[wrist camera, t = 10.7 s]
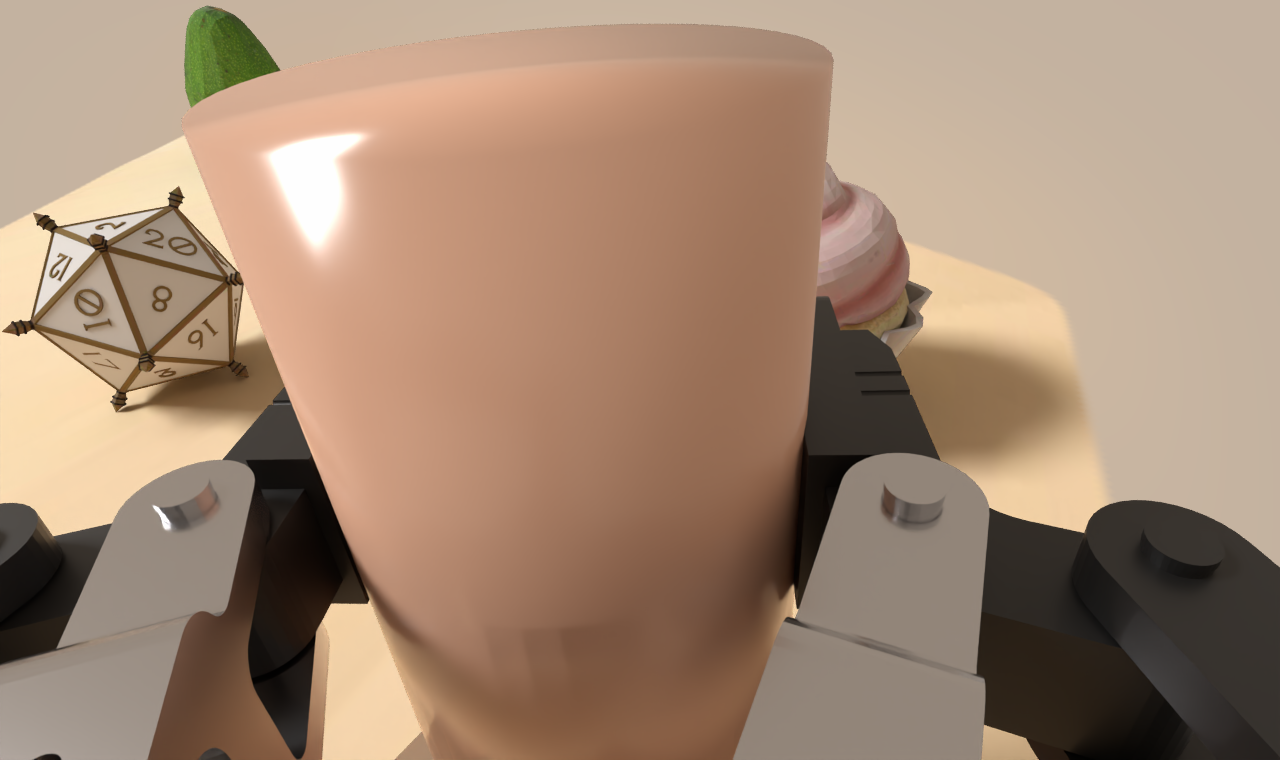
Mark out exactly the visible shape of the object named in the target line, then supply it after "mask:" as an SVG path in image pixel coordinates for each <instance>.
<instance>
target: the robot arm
mask: <svg viewBox="0 0 1280 760" xmlns="http://www.w3.org/2000/svg"><path fill="white" fill-rule="evenodd" d="M793 585H794V592H795V599H796V606H797V609H799V610H798V613H797V615H796V617H795V619H794V618H791V617H786V618H785V620H784V621H783V623H782V625H781V627H780V629H779V631H778V633H777V636H776V639H775V641H774V644H773V647H772V650H771V652H770V655H769V658H768V661H767V664H766V667H765V669H764V672H763V675H762V678H761V681H760V684H759V686H758V689H757V692H756V695H755V698H754V701H753V704H752V706H751V709H750V712H749V715H748V718H747V721H746V723H745V726H744V729H743V732H742V735H741V738H740V740H739V743H738V746H737V749H736V752H735V755H734V758H733V760H981V757H982V743H983V728H984V725H987V726H990V727H993V728H996V729H999V730H1002V731H1006V732H1009V733H1012V734H1015V735H1018V736H1021V737H1024V738H1026V739H1027V741H1028V743H1029V745H1030V746H1031V748H1032V750H1033V751H1034V753H1035V754H1036V756H1037V757H1038V759H1039V760H1280V567H1278V566H1277V565H1276V564H1274V563H1273V562H1272V561H1271V560H1270V559H1269V558H1268V557H1266V556H1265V555H1264V554H1263V553H1262V552H1260V551H1259V550H1258V549H1257V548H1256V547H1254V546H1253V545H1252V544H1251V543H1250V542H1248V541H1247V540H1245V539H1244V538H1243V537H1242V536H1240V535H1239V534H1238V533H1236V532H1235V531H1233V530H1232V529H1230V528H1228V527H1227V526H1225V525H1223V524H1222V523H1220V522H1217V521H1215V520H1214V519H1212V518H1209V517H1207V516H1205V515H1203V514H1200V513H1197V512H1195V511H1192V510H1189V509H1186V508H1183V507H1179V506H1176V505H1171V504H1167V503H1162V502H1155V501H1146V500H1131V501H1122V502H1117V503H1113V504H1109V505H1107V506H1105V507H1103V508H1101V509H1099V510H1098V511H1097V512H1095V513H1094V514H1093V516H1092V517H1091V518H1090V520H1089V522H1088V524H1087V527H1086V530H1085V532H1084V533H1081V532H1076V531H1072V530H1067V529H1063V528H1058V527H1053V526H1049V525H1044V524H1040V523H1035V522H1030V521H1026V520H1022V519H1018V518H1015V517H1011V516H1008V515H1006V514H1003V513H1000V512H997V511H995V510H993V509H991V508H989V505H988V502H987V499H986V497H985V495H984V493H983V492H982V490H981V489H980V487H979V486H978V485H977V484H976V483H975V482H974V481H973V480H972V479H971V478H970V477H968V476H967V475H966V474H965V473H963V472H961V471H960V470H958V469H957V468H955V467H953V466H951V465H949V464H947V463H945V462H942V461H940V458H939V456H938V454H937V451H936V449H935V447H934V444H933V442H932V440H931V438H930V435H929V433H928V431H927V428H926V426H925V424H924V422H923V419H922V417H921V415H920V412H919V410H918V408H917V405H916V403H915V401H914V399H913V396H912V395H910V389H909V387H908V385H907V383H906V380H905V378H904V376H902V375H901V369H900V367H899V364H898V362H897V360H896V357H895V355H894V353H893V350H892V348H890V347H889V346H888V345H887V344H885V343H884V342H883V341H882V340H880V339H879V338H878V337H877V336H875V335H874V334H873V333H871V332H870V331H869V330H868V329H867V330H840V328H839V325H838V322H837V319H836V316H835V313H834V310H833V307H832V304H831V301H830V298H829V297H828V296H816V305H815V318H814V332H813V346H812V359H811V373H810V386H809V400H808V413H807V420H806V425H805V430H804V441H803V455H802V469H801V483H800V497H799V511H798V525H797V539H796V553H795V567H794V581H793ZM368 601H369V597H368V594H367V592H366V589H365V587H364V584H363V582H362V579H361V577H360V574H359V572H358V569H357V567H356V564H355V562H354V559H353V557H352V554H351V551H350V549H349V546H348V544H347V541H346V539H345V536H344V534H343V531H342V529H341V526H340V524H339V521H338V519H337V516H336V514H335V511H334V509H333V506H332V504H331V501H330V499H329V496H328V494H327V491H326V489H325V486H324V484H323V481H322V479H321V476H320V474H319V471H318V469H317V466H316V463H315V461H314V458H313V456H312V453H311V451H310V448H309V446H308V443H307V441H306V438H305V436H304V433H303V431H302V428H301V426H300V423H299V421H298V418H297V416H296V413H295V411H294V408H293V406H292V403H291V401H290V398H289V396H288V393H287V391H286V388H285V387H284V388H283V389H282V390H281V392H280V393H279V394H278V395H277V396H276V397H275V399H274V400H273V405H269V406H268V407H267V408H266V409H265V410H264V412H263V413H262V414H261V415H260V416H259V417H258V419H257V420H256V421H255V422H254V423H253V424H252V426H251V427H250V428H249V429H248V430H247V431H246V433H245V434H244V435H243V436H242V437H241V439H240V440H239V441H238V442H237V443H236V444H235V446H234V447H233V448H232V449H231V450H230V451H229V453H228V454H227V455H226V456H225V457H224V458H223V460H213V461H206V462H200V463H196V464H192V465H188V466H185V467H182V468H179V469H177V470H174V471H172V472H170V473H167V474H165V475H163V476H161V477H159V478H157V479H155V480H154V481H152V482H150V483H149V484H147V485H146V486H144V487H143V488H141V489H140V490H139V491H137V492H136V493H135V494H134V495H133V496H131V497H130V498H129V499H128V500H127V501H126V502H125V503H124V505H123V506H122V507H121V508H120V510H119V511H118V513H117V515H116V517H115V519H114V521H113V523H112V524H107V525H103V526H98V527H94V528H89V529H85V530H80V531H76V532H71V533H67V534H62V535H58V536H54V537H53V536H52V534H51V533H50V531H49V530H48V528H47V527H46V526H45V524H44V523H43V521H42V520H41V518H40V517H39V516H38V514H37V513H36V511H35V510H34V509H32V508H31V507H30V506H27V505H24V504H18V503H2V504H0V760H322V751H323V736H324V721H325V706H326V691H327V676H328V661H329V647H330V644H329V636H328V633H327V631H326V628H325V626H324V624H323V622H322V620H323V618H324V616H325V614H326V612H327V610H328V608H329V606H330V604H331V603H339V604H368Z"/></svg>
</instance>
